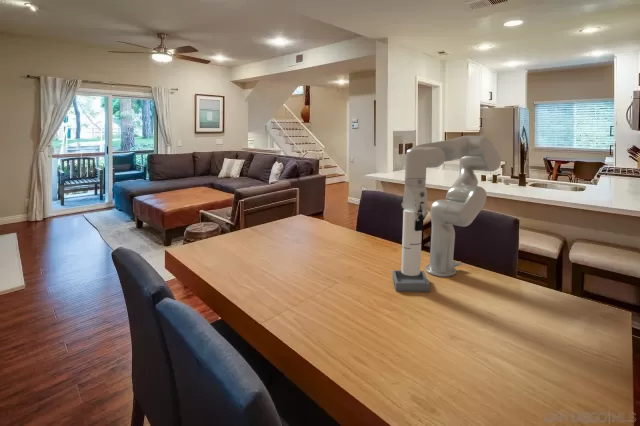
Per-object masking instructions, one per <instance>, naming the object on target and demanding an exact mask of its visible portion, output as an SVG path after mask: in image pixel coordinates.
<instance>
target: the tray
mask: <svg viewBox="0 0 640 426" xmlns="http://www.w3.org/2000/svg"><path fill="white" fill-rule="evenodd" d="M392 282H393V286H394V289H395V292H400V293H401V292H403V293H404V292H405V293H407V292H408V293H430V290H431V289H430V288H431V283H430V281H429V279H428V277H427V274H426V272H425V271H424V270H420V274H419V275H416V276H408V275H405V274H403V273H402V272H401V269H400V270H399V269H397V270H396V269H393V270H392Z"/></svg>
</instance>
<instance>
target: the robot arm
mask: <svg viewBox="0 0 640 426" xmlns="http://www.w3.org/2000/svg"><path fill="white" fill-rule="evenodd" d="M405 153H406V154H405V168H404V169H405V172H404V174H405V175H404V188H403V198H402V202H401V204H400V205H401V208H402V211H403V210H404V209H405V210H408V211H411V212H414V213H415V214H416V220H415V231H422V232H423V230H424V221H425V219H426V218H427V215H428V214H429V212H430V221H431V235H430V250H429V251H430V253H429V264H427V265H426V266H425V272H427V274H429V275H433V276H436V277H442V278H443V277H447V278H448V277H452V276H455V275H456V273H457V270H456V267H461V266H463V262H462V261H456V260H454V253H455V241H456V240H455V239H456V232H455V227H454V226H458V227H463V228H464V227H468V226H470V225H471V224H472V223H473V221H474V220H475V219H476V217H477V216H478V215H479V213H481V211H482V209H483V207H484V206H485V205H486V201H487V191H486V190H485V188H484V187H482V186H478V184H479V180H478V177H477V175H476V174H475V172H474V171H477V172H478V171H482V172H495V171H497V170H498V169H499V168H500V166H501V163H502V158H501V154H500V152H499V151H498V149H497V148H496V146H495V144H494V143H493V142H492V140H491V139H490V138H489V137H488V136H485V135H462V136H458V137H454V138H450V139H447V140H440V141H435V142H428V143H421V144H418V145H413V146H412V147H410V148H409V149H407V150H406V152H405ZM458 159H459V176H458V178H456V180H455V181H454V183H453V184H452V185H451V186H450V188H449V189H448V190H447V192H446V194H445V199H437V200H435V201H434V202H433V203H432V204H431V206H430V211H428V191H427V186H426V184H427V168H435V169H436V168H438V167H441V166H442V165H443V164H444V162H453V161H455V160H458ZM418 211H420V212H418ZM418 214H421V215H420V216H419V215H418Z"/></svg>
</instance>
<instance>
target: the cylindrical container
mask: <svg viewBox="0 0 640 426" xmlns="http://www.w3.org/2000/svg"><path fill="white" fill-rule="evenodd" d="M418 212H420V211H418ZM402 214H403V215H402V239H401V243H402V244H401V245H402V246H401V269H400V270H401V272H402V273H403V274H405V275H408V276H416V275H419V274H420V271H421V261H422V259H421V258H422V255H421V254H422V234H423V230H422V231H415V220H416V214H415V213H414V212H411V211H408V210H405V209H404V210H402ZM418 215H419V216H420V215H421V214H418Z"/></svg>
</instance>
